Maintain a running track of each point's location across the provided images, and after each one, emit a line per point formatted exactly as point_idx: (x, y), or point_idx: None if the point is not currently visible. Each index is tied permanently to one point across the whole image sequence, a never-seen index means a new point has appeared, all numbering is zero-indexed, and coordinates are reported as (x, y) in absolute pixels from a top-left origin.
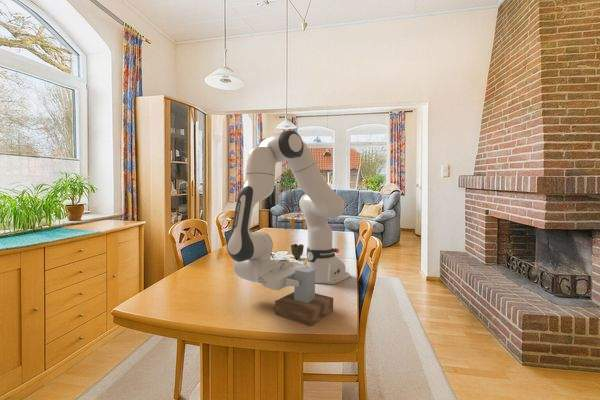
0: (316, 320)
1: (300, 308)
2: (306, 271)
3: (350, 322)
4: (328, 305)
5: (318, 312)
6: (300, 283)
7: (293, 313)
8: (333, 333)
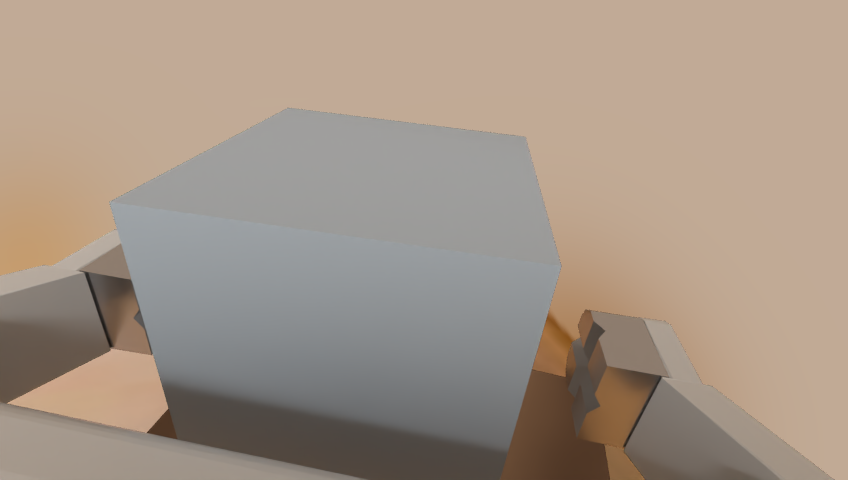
0: None
1: (608, 478)
2: (490, 148)
3: None
4: None
5: None
6: (579, 340)
7: None
8: (553, 339)
